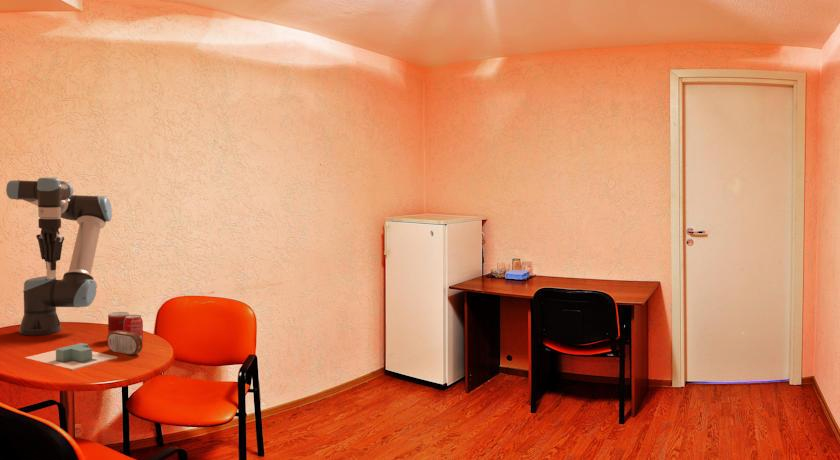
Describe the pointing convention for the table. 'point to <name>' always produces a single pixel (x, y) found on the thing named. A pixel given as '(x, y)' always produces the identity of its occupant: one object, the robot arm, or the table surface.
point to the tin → (124, 342)
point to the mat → (71, 364)
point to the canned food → (116, 321)
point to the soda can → (134, 325)
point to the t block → (74, 353)
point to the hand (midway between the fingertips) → (51, 278)
